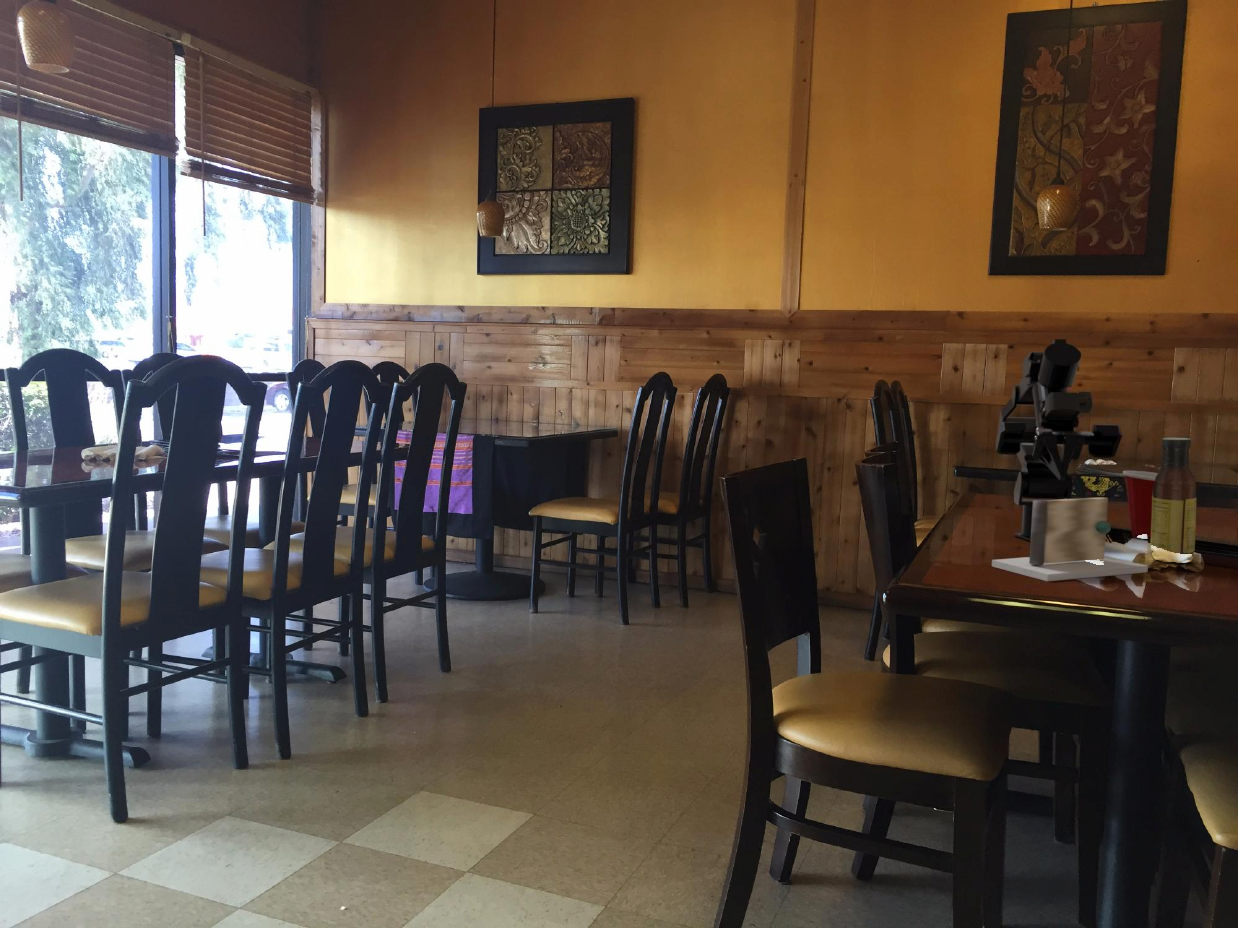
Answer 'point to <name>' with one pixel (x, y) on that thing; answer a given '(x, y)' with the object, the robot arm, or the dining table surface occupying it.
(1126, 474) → the plastic cup
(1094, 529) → the door
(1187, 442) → the sauce bottle
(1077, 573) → the board
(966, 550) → the dining table surface
